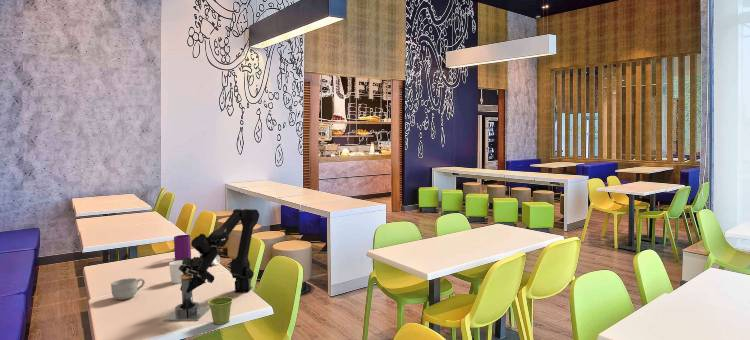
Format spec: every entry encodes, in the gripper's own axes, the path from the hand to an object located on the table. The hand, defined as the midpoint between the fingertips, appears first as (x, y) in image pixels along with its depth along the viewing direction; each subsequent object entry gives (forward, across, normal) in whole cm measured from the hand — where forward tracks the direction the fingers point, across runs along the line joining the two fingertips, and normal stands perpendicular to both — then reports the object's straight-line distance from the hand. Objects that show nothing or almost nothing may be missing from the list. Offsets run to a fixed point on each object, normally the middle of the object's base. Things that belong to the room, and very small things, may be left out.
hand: (183, 291), depth 195 cm
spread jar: (-30, -61, +45) cm, 81 cm away
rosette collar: (+6, 0, +8) cm, 10 cm away
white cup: (-9, -45, +24) cm, 52 cm away
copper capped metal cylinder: (+4, 0, +6) cm, 7 cm away
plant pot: (+4, +19, +10) cm, 22 cm away
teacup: (+9, -42, +5) cm, 44 cm away
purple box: (-27, -83, +42) cm, 96 cm away
